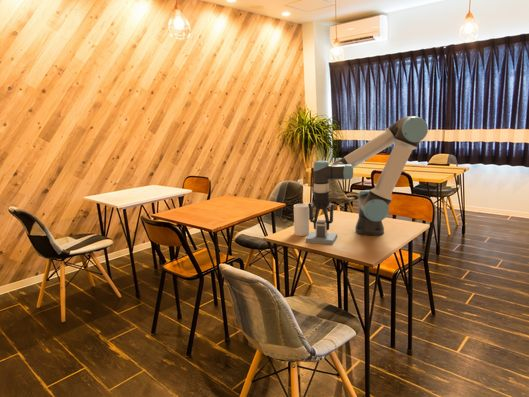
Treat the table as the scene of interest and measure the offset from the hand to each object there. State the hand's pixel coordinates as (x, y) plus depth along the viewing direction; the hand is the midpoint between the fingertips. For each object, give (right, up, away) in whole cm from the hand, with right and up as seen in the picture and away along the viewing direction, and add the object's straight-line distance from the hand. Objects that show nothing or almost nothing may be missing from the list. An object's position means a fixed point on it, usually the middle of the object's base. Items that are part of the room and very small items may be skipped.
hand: (321, 235), depth 203 cm
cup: (-9, 0, +12) cm, 15 cm away
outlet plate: (0, -2, 0) cm, 2 cm away
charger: (0, 0, 0) cm, 0 cm away
